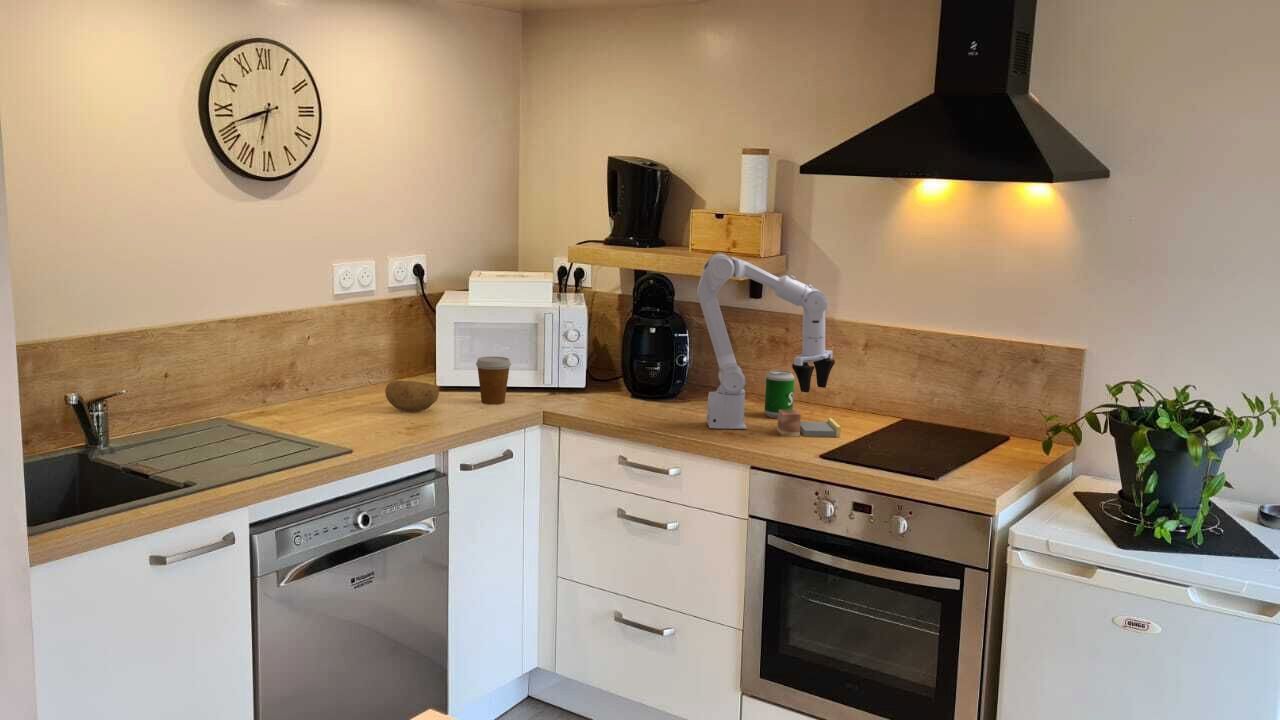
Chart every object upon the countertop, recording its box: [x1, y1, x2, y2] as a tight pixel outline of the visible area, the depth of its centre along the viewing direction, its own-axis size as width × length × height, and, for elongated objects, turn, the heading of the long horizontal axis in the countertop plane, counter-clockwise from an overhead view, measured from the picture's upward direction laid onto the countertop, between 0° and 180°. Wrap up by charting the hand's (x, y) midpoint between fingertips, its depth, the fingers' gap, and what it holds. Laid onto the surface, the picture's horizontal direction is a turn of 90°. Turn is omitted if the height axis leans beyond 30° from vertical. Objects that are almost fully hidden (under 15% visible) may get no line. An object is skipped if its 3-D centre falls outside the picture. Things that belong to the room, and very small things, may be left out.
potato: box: [384, 380, 440, 413], centre depth 293 cm, size 10×14×8 cm
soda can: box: [764, 369, 795, 419], centre depth 301 cm, size 8×8×12 cm
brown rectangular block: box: [776, 409, 802, 437], centre depth 282 cm, size 4×6×6 cm
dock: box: [800, 417, 842, 438], centre depth 285 cm, size 9×10×3 cm
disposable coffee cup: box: [475, 356, 512, 405], centre depth 306 cm, size 10×10×12 cm
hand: (813, 389), depth 287 cm, fingers open, 7 cm apart
